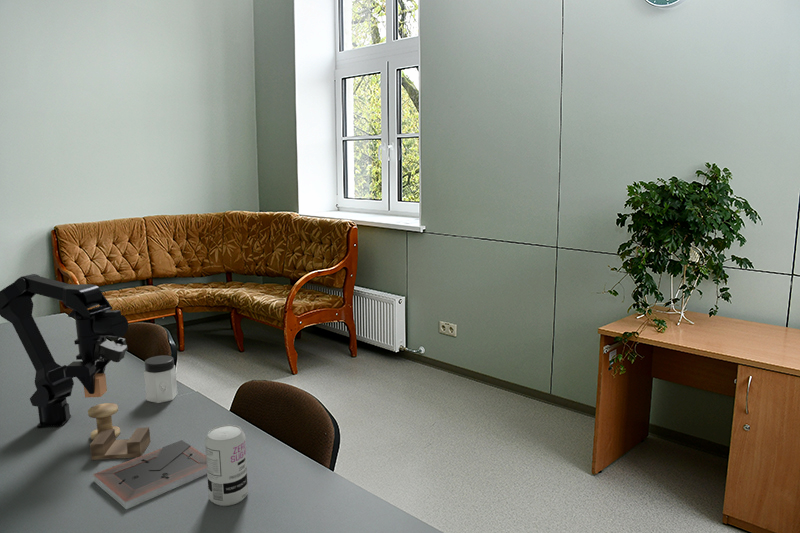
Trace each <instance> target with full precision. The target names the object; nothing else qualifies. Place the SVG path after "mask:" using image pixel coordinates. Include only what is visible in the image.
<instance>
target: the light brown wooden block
mask: <svg viewBox="0 0 800 533" xmlns="http://www.w3.org/2000/svg"><path fill="white" fill-rule="evenodd" d="M83 391H84V392H83V393H84V398H101V397H102V396H103V395H105V393H107V392H108V388H107V377H106V373H105V372H104V373H101V374H96V375H95V392H94V394H89V392H88V391H87V390H86V388H85V387H84V386H83Z"/></svg>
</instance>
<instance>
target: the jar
mask: <svg viewBox="0 0 800 533" xmlns="http://www.w3.org/2000/svg"><path fill="white" fill-rule="evenodd" d="M143 376H144V386H145V398H146V401H147V402H152V403H154V404H160V403H161V404H162V403H165V402H169V401H174V399H175V397H176V396H177V395H178V386H177V385H178V383H177V382H178V380H177V371H176V365H175V361H174V357H173V356H171V355H155V356H151V357H148V358H147V359H145V360H144V370H143Z"/></svg>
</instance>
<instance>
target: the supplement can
mask: <svg viewBox="0 0 800 533" xmlns="http://www.w3.org/2000/svg"><path fill="white" fill-rule="evenodd" d="M204 442H205V443H204V445H205V455H206V462H207V474H206V475H207V476H206V477H207V488H208V499H209V501H210V502H211V503H213V504H215V505H217V506H221V507H227V506H228V507H229V506H233V505H235V504H238V503H241V502H242V501H243V500H245V498H246V497H247V495H248V494H249V481H248V479H249V478H248V466H247V465H248V464H247V461H248V460H247V447H246V434H245V432H244V431H243V429H242V428H241V426H239V425H234V424H224V425H219V426H216V427H214V428H212V429H210V430H209V431H208V432H207V437H205V440H204Z"/></svg>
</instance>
